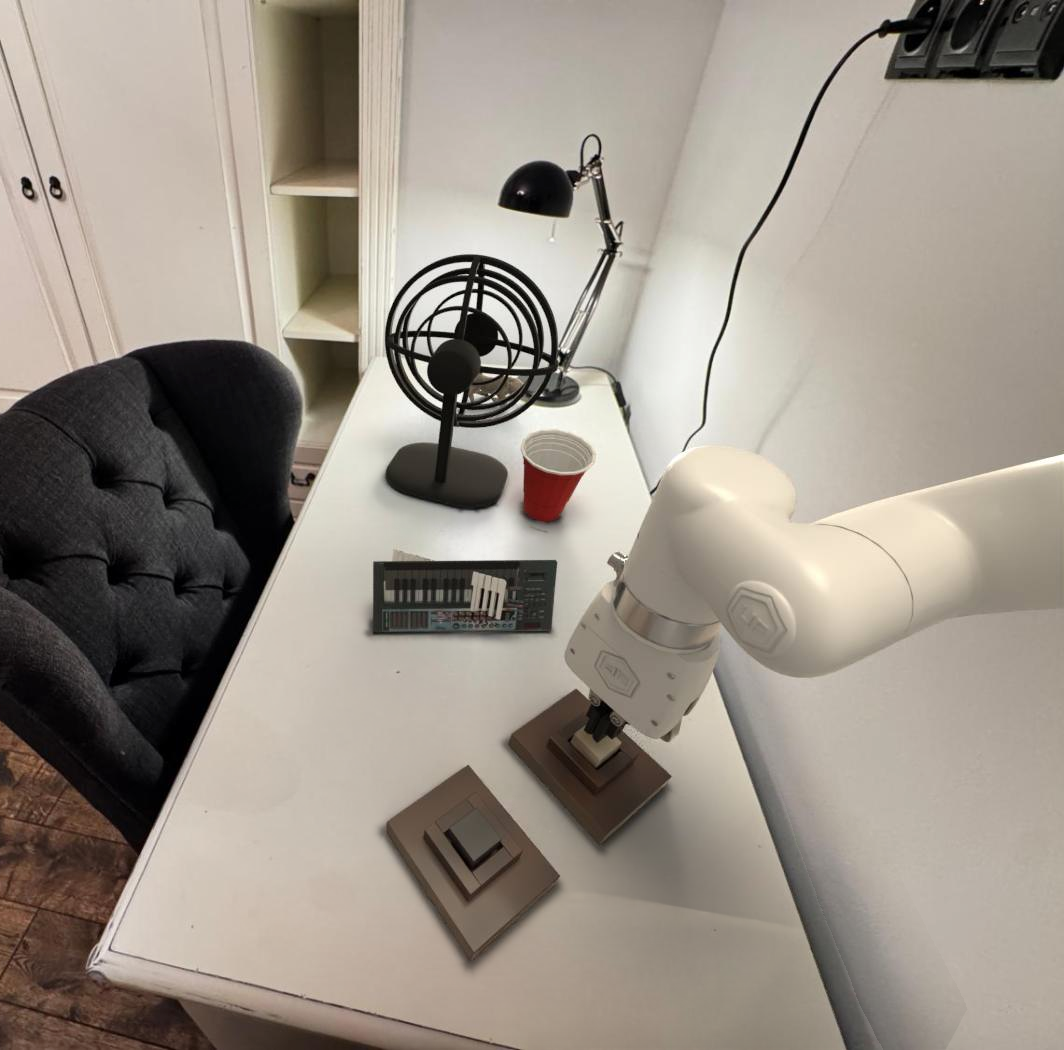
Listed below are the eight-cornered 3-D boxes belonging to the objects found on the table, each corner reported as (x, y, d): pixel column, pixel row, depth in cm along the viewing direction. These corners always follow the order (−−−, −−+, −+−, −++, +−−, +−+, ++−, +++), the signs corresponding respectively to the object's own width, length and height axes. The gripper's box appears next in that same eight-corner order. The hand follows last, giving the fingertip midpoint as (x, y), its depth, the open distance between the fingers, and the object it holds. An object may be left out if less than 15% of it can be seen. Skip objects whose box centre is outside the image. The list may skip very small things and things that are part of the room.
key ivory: (616, 751, 56) (622, 742, 55) (595, 768, 55) (600, 759, 54) (590, 726, 58) (595, 717, 57) (569, 742, 57) (574, 733, 56)
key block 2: (664, 786, 57) (678, 767, 55) (599, 845, 53) (611, 827, 51) (571, 699, 65) (580, 678, 62) (508, 744, 61) (514, 724, 58)
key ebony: (498, 847, 50) (502, 838, 48) (471, 869, 48) (473, 861, 47) (474, 815, 52) (476, 806, 51) (447, 835, 50) (449, 827, 49)
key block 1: (555, 884, 51) (565, 868, 48) (470, 961, 46) (477, 947, 44) (465, 774, 58) (470, 755, 56) (385, 831, 54) (387, 812, 51)
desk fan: (536, 466, 101) (586, 256, 79) (516, 524, 89) (569, 294, 66) (393, 434, 109) (402, 235, 87) (357, 484, 97) (356, 267, 74)
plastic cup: (508, 529, 88) (523, 465, 80) (506, 488, 96) (519, 426, 88) (581, 536, 87) (602, 472, 79) (572, 494, 95) (591, 432, 87)
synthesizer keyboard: (559, 555, 70) (555, 589, 62) (551, 625, 74) (547, 667, 65) (392, 537, 78) (367, 565, 69) (392, 601, 81) (368, 636, 72)
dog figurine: (463, 405, 118) (468, 371, 113) (467, 392, 122) (472, 360, 118) (522, 413, 116) (529, 379, 111) (524, 400, 120) (531, 367, 115)
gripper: (557, 563, 46) (516, 691, 58) (735, 698, 37) (642, 819, 49) (617, 530, 49) (566, 658, 61) (794, 647, 40) (694, 771, 52)
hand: (600, 729), depth 55 cm, fingers closed
